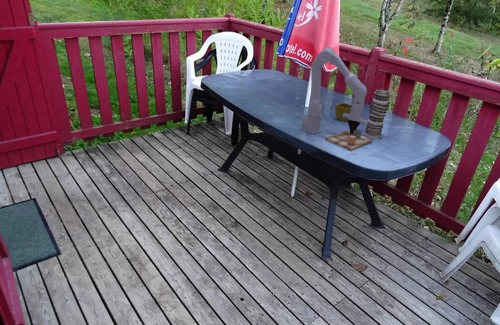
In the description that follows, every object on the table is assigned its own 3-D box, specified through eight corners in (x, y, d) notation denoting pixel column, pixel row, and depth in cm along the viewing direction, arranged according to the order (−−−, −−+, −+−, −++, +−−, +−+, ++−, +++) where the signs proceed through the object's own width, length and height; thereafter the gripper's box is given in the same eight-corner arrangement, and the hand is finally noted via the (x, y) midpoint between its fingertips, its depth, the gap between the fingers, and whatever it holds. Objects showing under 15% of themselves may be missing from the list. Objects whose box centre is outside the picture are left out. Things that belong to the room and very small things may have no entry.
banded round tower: (381, 139, 192) (393, 94, 181) (364, 136, 194) (374, 91, 183) (380, 133, 200) (391, 89, 189) (363, 130, 202) (373, 87, 191)
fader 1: (347, 142, 180) (348, 136, 179) (350, 141, 182) (351, 134, 181) (352, 144, 178) (353, 138, 177) (355, 143, 180) (356, 136, 179)
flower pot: (340, 116, 222) (343, 102, 218) (353, 120, 217) (356, 106, 212) (332, 119, 216) (335, 104, 212) (345, 123, 211) (348, 108, 207)
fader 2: (352, 135, 189) (353, 129, 187) (355, 134, 191) (357, 128, 189) (357, 137, 187) (358, 131, 185) (360, 136, 189) (362, 130, 187)
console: (325, 140, 187) (325, 137, 186) (346, 132, 198) (347, 129, 197) (351, 151, 176) (351, 148, 175) (372, 142, 188) (372, 139, 187)
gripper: (340, 106, 186) (336, 130, 193) (364, 114, 177) (359, 139, 183) (348, 104, 191) (344, 128, 197) (372, 112, 181) (367, 136, 188)
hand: (351, 133), depth 190 cm, fingers closed
